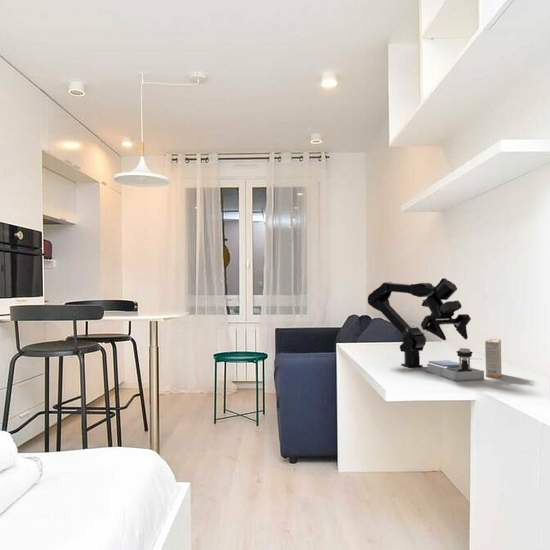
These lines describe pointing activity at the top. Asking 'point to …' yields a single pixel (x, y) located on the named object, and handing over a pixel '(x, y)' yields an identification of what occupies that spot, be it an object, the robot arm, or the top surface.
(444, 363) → the panel
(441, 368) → the grey tray
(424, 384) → the top surface
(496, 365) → the supplement box
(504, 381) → the top surface
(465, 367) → the push button
